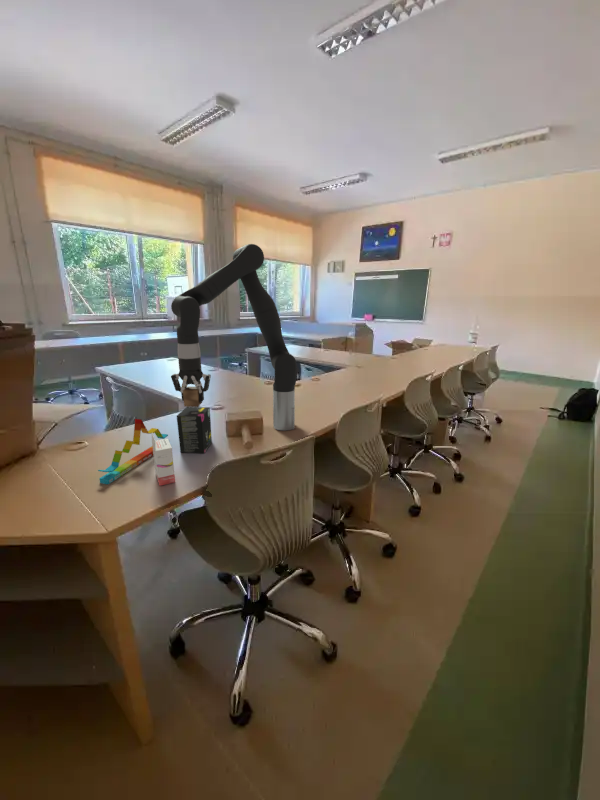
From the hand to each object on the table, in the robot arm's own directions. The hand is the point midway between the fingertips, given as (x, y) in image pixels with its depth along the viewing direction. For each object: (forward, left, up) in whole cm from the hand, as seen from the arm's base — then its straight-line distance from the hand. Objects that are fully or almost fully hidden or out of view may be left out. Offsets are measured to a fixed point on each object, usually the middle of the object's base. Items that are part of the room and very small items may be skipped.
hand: (193, 401), depth 124 cm
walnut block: (0, 0, -1) cm, 1 cm away
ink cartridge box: (+3, +23, -18) cm, 30 cm away
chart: (+16, +12, -19) cm, 28 cm away
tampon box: (0, 0, -18) cm, 18 cm away
